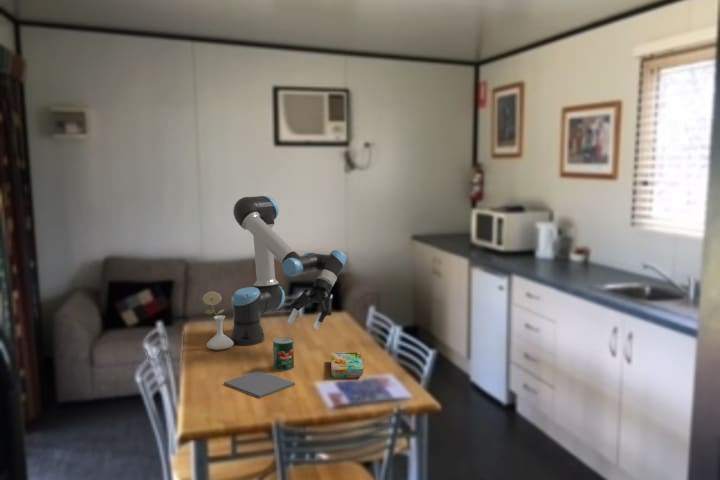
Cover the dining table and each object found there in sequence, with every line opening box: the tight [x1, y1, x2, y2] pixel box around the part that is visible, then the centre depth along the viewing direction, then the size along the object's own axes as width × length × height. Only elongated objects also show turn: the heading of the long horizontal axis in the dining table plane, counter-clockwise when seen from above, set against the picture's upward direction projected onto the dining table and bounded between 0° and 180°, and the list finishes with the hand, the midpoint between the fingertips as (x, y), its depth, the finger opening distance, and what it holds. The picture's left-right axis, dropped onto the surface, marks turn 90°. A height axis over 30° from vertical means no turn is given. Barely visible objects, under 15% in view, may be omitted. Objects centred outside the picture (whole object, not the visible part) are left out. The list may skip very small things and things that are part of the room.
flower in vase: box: [201, 290, 235, 351], centre depth 250 cm, size 13×11×25 cm
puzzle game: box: [330, 351, 364, 379], centre depth 223 cm, size 12×5×20 cm
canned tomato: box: [272, 336, 295, 372], centre depth 225 cm, size 8×8×11 cm
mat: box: [223, 370, 296, 399], centre depth 208 cm, size 20×16×1 cm
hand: (301, 325), depth 233 cm, fingers open, 13 cm apart
